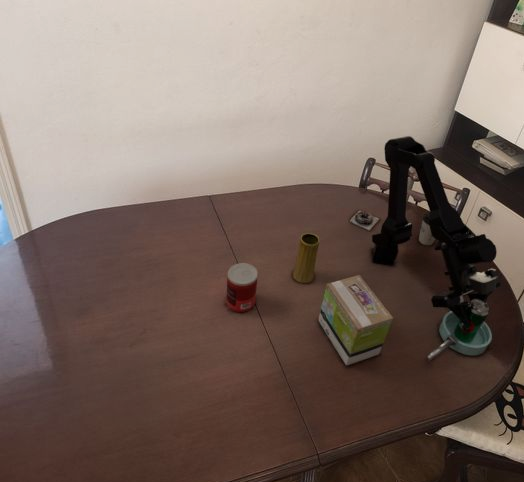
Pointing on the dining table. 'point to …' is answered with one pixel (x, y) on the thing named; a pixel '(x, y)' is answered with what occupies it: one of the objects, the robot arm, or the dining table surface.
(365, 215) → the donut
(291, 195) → the dining table surface
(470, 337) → the soda can
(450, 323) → the pan
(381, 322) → the tea box
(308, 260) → the vase
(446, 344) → the pan handle
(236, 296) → the canned food
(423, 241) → the coffee cup
